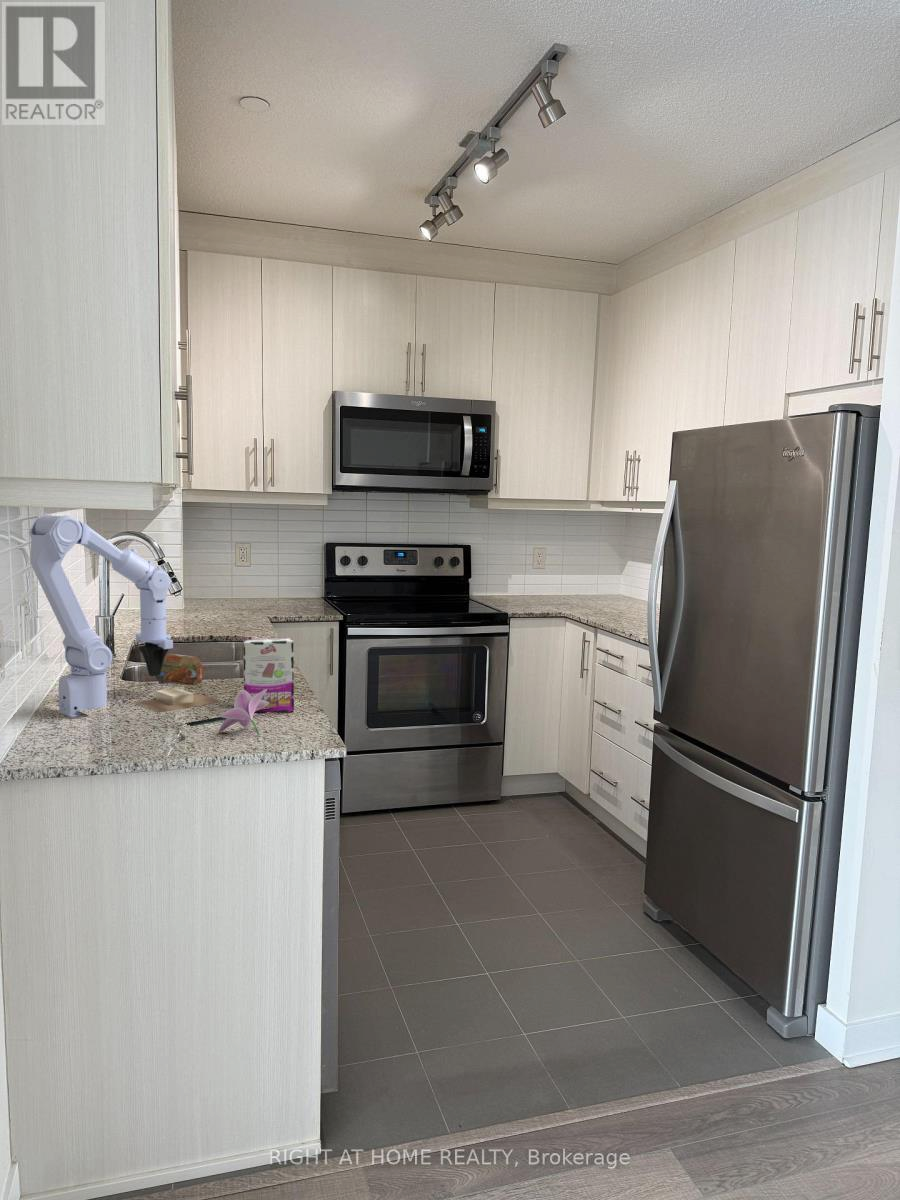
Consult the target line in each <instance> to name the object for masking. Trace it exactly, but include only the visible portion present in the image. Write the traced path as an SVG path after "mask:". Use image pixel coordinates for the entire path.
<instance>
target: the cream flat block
mask: <svg viewBox="0 0 900 1200" xmlns="http://www.w3.org/2000/svg"><path fill="white" fill-rule="evenodd" d="M193 694H194V693H193V692H190V691H187V690H184V689H180V688H177V687H171V688H166V689H159V690H155V699H156V700H159V701H162V702H165V703H168V704H171V705H178V704H184V703H190V702H193Z"/></svg>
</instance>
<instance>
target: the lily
mask: <svg viewBox="0 0 900 1200" xmlns="http://www.w3.org/2000/svg"><path fill="white" fill-rule="evenodd" d="M266 691H267V689H265V690H263V691H261V692H260V693H258V694H257V695H255V696H254V697H253V698H252V697H251V695H250V694H249V693H248V692H247V691H245V690H244V688H243V689H240V690H238V693H237V695H236V697H235V699H234V703H233V708H230V709H228V710H227V711H225V712H223V713H222V714H221V715H219V717H222V718H227V719H226V720H225V721H224V722H222V724H221V725H220V728H219V729H218V732H220V731H222V732H224V731H225V730H226V729H228V728H229V727H231V726H233V725H234V724H237V723H238V724H240V725H241V726H242V727H243V728H245V727H246V726H248V727H249V725H250V721H251V723H252V725H253V726H254V728H255V729H254V730H255V731H256V733H257V736H258V735H260V732H259V729H258V728H257V726H256V724H255V722H254V720H253V716H254V715H255V714H254V712H255V711H257V710H261V709H264V708H266V707H265V706H267V705H268V704H269V702H268V701H265V700H261V698H262V697H263V695H264V694H265V692H266ZM246 728H247V727H246ZM260 736H261V735H260Z"/></svg>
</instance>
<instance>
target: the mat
mask: <svg viewBox="0 0 900 1200" xmlns="http://www.w3.org/2000/svg"><path fill="white" fill-rule="evenodd" d="M226 719H227V718H222V717H220V716H218V717H213V718H206V719H199V720H196V721H190V722H185V724H184V725H186V724H187V725H186V726H188V725H190V726H189V727H191V726H198V725H204V724H209V725H211V724H210V723H215V722H220V721H225V720H226ZM220 723H221V722H220ZM215 724H216V723H215ZM204 726H205V725H204ZM198 727H199V726H198Z"/></svg>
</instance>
